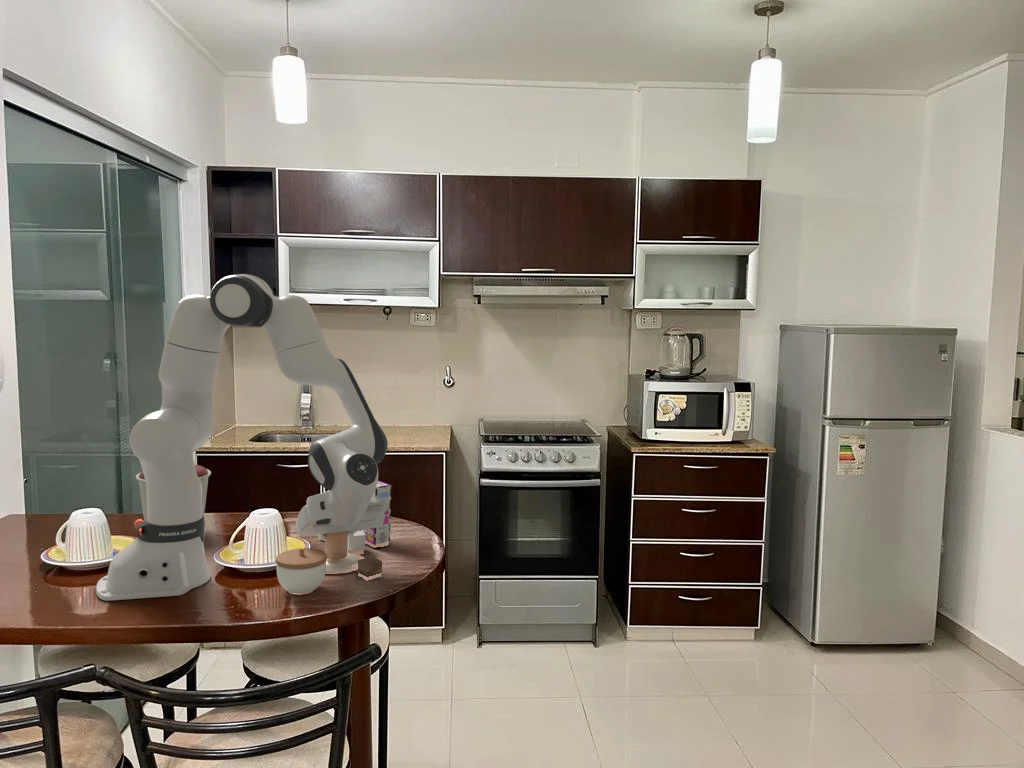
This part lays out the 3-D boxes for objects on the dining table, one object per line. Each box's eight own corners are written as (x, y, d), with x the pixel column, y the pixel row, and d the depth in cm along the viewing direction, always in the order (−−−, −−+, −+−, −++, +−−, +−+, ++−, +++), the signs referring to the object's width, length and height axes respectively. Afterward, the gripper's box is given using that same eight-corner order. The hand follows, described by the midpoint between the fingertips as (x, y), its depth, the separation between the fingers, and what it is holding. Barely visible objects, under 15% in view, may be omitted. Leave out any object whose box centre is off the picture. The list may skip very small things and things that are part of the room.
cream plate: (313, 578, 166) (313, 573, 166) (300, 559, 178) (300, 554, 178) (372, 569, 173) (372, 565, 173) (356, 552, 185) (356, 547, 185)
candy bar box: (391, 546, 191) (392, 484, 189) (374, 549, 187) (375, 487, 186) (368, 535, 199) (369, 476, 197) (352, 538, 195) (353, 479, 194)
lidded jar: (274, 601, 152) (274, 558, 151) (276, 582, 163) (277, 542, 162) (327, 598, 155) (327, 555, 154) (326, 579, 165) (326, 539, 165)
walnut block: (367, 581, 165) (367, 564, 165) (357, 576, 168) (357, 560, 168) (381, 577, 168) (382, 561, 168) (372, 572, 171) (372, 556, 171)
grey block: (348, 555, 182) (349, 536, 182) (347, 550, 186) (347, 531, 186) (364, 554, 184) (365, 535, 183) (362, 549, 187) (363, 530, 187)
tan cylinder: (327, 560, 172) (328, 521, 171) (322, 553, 176) (322, 515, 175) (350, 557, 174) (350, 518, 173) (344, 550, 179) (344, 512, 178)
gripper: (387, 490, 173) (374, 519, 182) (300, 497, 163) (290, 528, 172) (393, 513, 169) (379, 541, 179) (304, 522, 159) (294, 552, 169)
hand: (335, 535), depth 175 cm, fingers closed on tan cylinder, 5 cm apart
